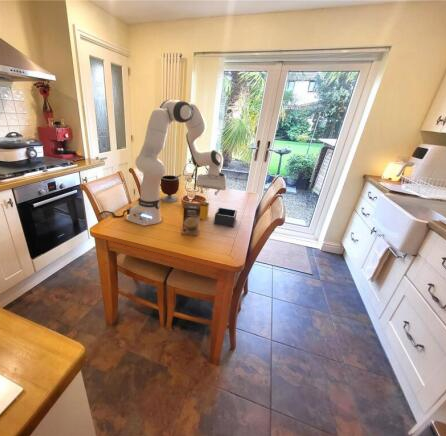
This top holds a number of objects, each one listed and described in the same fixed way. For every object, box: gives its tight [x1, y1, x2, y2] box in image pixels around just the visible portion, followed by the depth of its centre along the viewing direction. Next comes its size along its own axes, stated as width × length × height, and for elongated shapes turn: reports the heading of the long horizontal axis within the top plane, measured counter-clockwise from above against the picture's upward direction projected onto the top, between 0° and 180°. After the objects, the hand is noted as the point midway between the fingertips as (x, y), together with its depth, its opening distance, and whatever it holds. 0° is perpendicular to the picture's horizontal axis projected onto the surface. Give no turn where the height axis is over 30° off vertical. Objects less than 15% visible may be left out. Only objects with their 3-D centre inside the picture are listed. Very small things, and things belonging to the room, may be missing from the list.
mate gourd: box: [160, 174, 182, 203], centre depth 176 cm, size 16×14×20 cm
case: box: [213, 207, 238, 228], centre depth 145 cm, size 12×12×7 cm
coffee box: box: [181, 203, 201, 236], centre depth 129 cm, size 9×6×16 cm
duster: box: [199, 201, 210, 221], centre depth 149 cm, size 5×5×10 cm
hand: (208, 193), depth 153 cm, fingers open, 8 cm apart
